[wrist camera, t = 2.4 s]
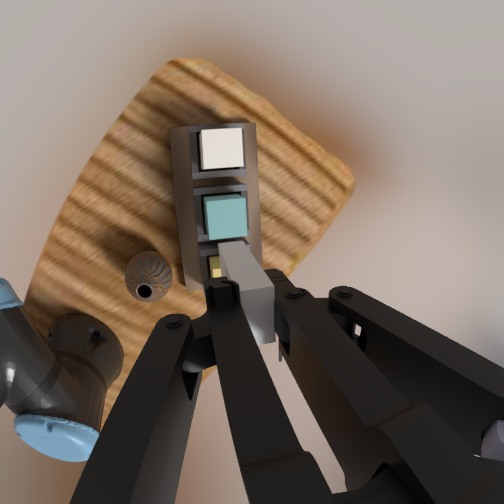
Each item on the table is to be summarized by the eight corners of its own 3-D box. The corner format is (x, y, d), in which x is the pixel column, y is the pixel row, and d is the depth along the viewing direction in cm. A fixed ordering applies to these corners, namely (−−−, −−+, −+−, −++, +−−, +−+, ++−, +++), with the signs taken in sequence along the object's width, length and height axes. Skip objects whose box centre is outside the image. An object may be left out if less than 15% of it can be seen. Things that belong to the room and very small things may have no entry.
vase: (135, 239, 39) (124, 258, 31) (178, 253, 41) (177, 274, 33) (125, 280, 40) (113, 307, 32) (166, 292, 42) (164, 321, 34)
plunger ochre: (212, 286, 39) (216, 302, 34) (208, 256, 37) (212, 269, 33) (242, 281, 40) (250, 297, 35) (240, 252, 38) (249, 264, 34)
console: (186, 287, 43) (187, 303, 38) (170, 129, 35) (168, 123, 30) (260, 277, 45) (270, 291, 40) (253, 124, 38) (263, 118, 33)
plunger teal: (206, 230, 36) (209, 239, 31) (203, 196, 35) (206, 201, 30) (239, 226, 37) (247, 235, 32) (237, 193, 36) (245, 198, 31)
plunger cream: (201, 169, 34) (203, 169, 29) (199, 135, 32) (201, 130, 28) (235, 166, 34) (243, 166, 30) (233, 133, 33) (241, 127, 28)
